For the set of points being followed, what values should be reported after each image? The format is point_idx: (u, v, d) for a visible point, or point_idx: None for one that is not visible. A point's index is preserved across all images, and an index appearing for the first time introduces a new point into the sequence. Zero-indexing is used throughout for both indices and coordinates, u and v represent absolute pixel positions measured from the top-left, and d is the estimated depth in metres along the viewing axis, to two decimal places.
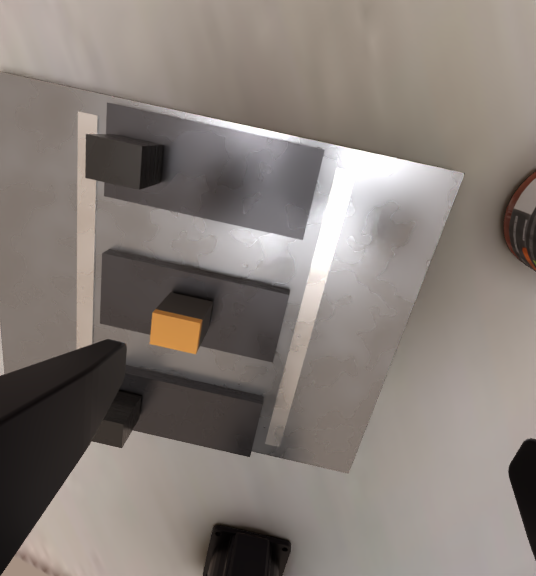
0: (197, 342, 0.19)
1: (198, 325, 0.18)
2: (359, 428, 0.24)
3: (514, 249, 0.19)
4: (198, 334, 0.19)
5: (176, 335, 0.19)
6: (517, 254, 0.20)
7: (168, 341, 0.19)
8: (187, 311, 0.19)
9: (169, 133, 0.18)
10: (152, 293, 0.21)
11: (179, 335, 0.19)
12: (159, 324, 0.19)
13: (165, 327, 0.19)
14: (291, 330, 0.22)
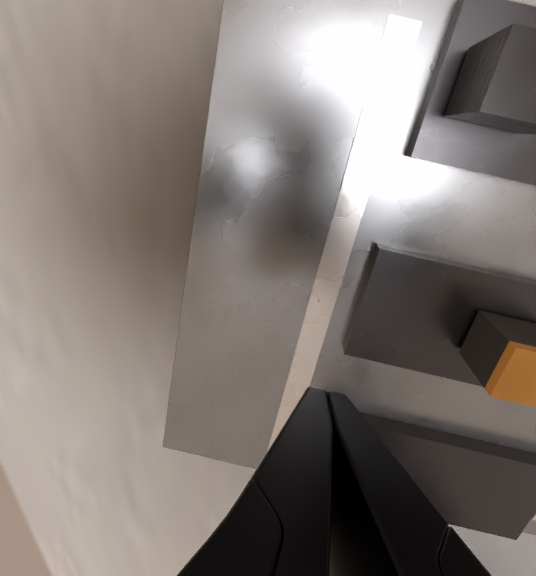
0: None
1: None
2: None
3: None
4: None
5: None
6: None
7: (525, 393, 0.12)
8: None
9: None
10: (443, 311, 0.14)
11: None
12: (520, 366, 0.11)
13: (529, 371, 0.11)
14: None
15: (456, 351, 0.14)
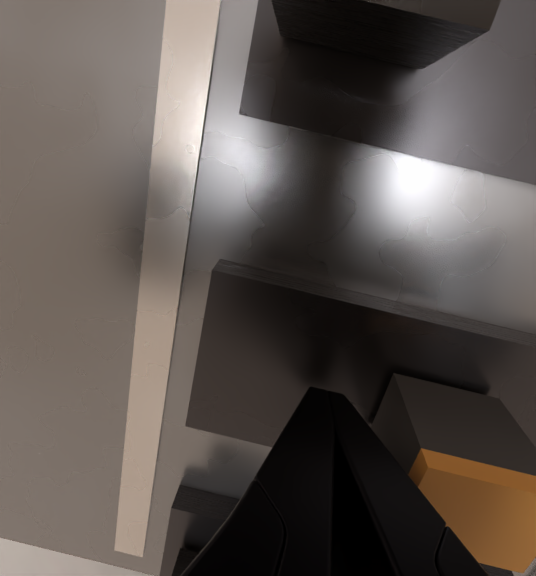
0: None
1: None
2: None
3: None
4: None
5: (482, 527, 0.06)
6: None
7: None
8: (494, 447, 0.07)
9: None
10: (324, 368, 0.09)
11: (492, 528, 0.06)
12: (438, 498, 0.06)
13: (455, 506, 0.06)
14: None
15: None
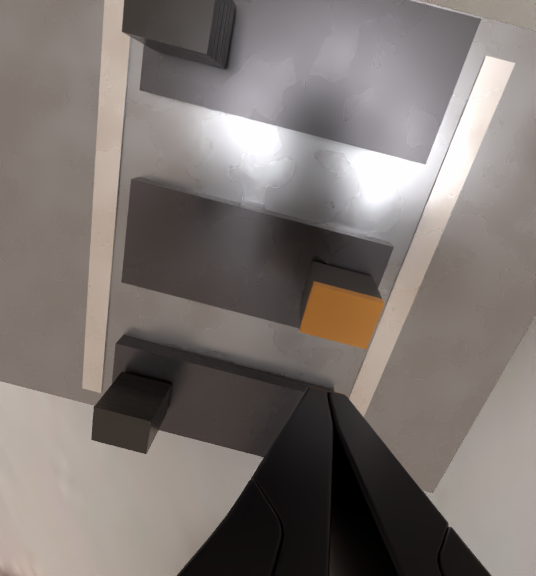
0: (371, 332, 0.13)
1: (380, 306, 0.13)
2: (457, 435, 0.18)
3: None
4: (376, 320, 0.13)
5: (343, 320, 0.13)
6: None
7: (329, 329, 0.13)
8: (354, 286, 0.13)
9: None
10: (198, 240, 0.15)
11: (347, 320, 0.13)
12: (320, 303, 0.13)
13: (329, 308, 0.13)
14: (383, 300, 0.16)
15: (217, 279, 0.16)
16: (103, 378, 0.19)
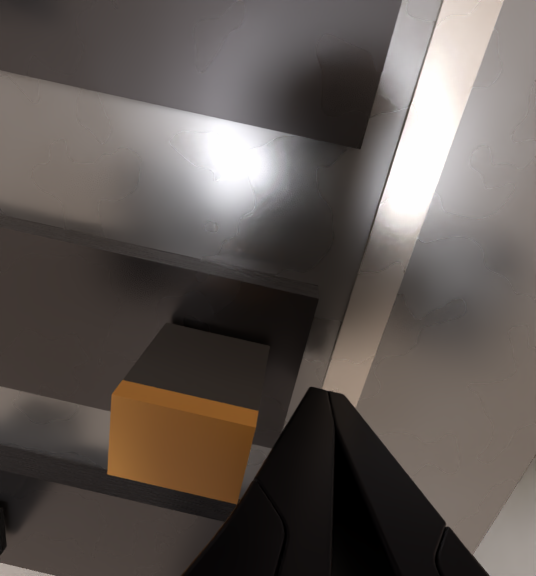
0: (242, 474, 0.07)
1: (248, 432, 0.06)
2: None
3: None
4: (246, 455, 0.06)
5: (182, 456, 0.07)
6: None
7: (159, 470, 0.07)
8: (213, 382, 0.07)
9: None
10: None
11: (191, 456, 0.07)
12: (133, 426, 0.06)
13: (150, 435, 0.06)
14: (318, 378, 0.10)
15: (36, 356, 0.09)
16: None
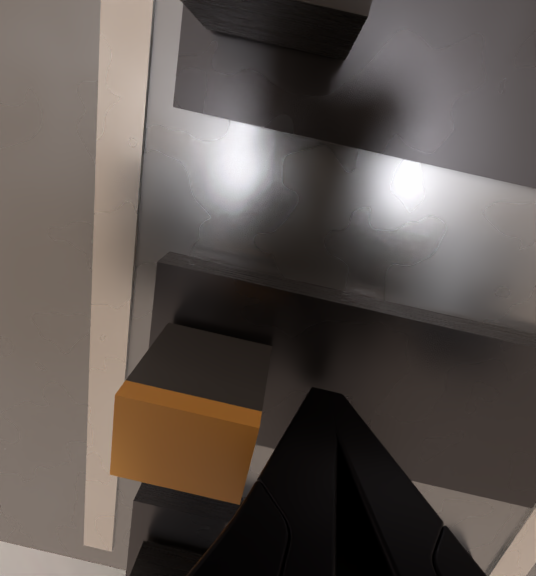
0: (245, 474, 0.07)
1: (252, 433, 0.06)
2: None
3: None
4: (250, 455, 0.06)
5: (185, 456, 0.07)
6: None
7: (162, 470, 0.07)
8: (216, 382, 0.07)
9: None
10: (273, 358, 0.09)
11: (194, 457, 0.07)
12: (136, 427, 0.06)
13: (154, 435, 0.06)
14: None
15: None
16: (114, 533, 0.13)
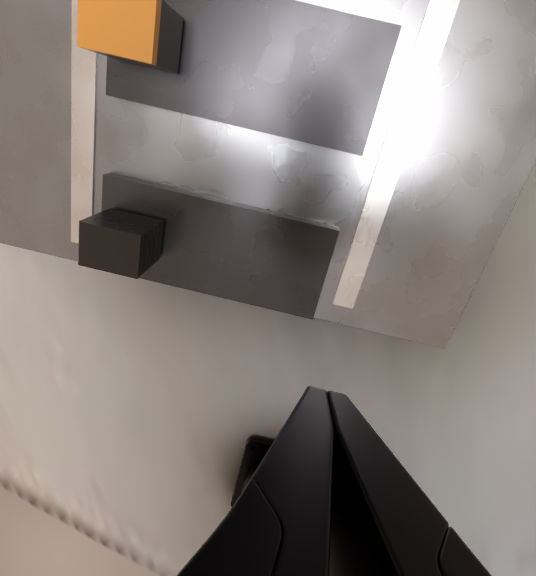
0: (153, 40, 0.12)
1: (153, 0, 0.11)
2: (470, 276, 0.17)
3: None
4: (154, 21, 0.12)
5: (119, 24, 0.12)
6: None
7: (106, 39, 0.12)
8: None
9: None
10: (187, 33, 0.14)
11: (123, 24, 0.12)
12: (90, 2, 0.11)
13: (100, 8, 0.11)
14: (390, 108, 0.15)
15: (208, 83, 0.14)
16: None
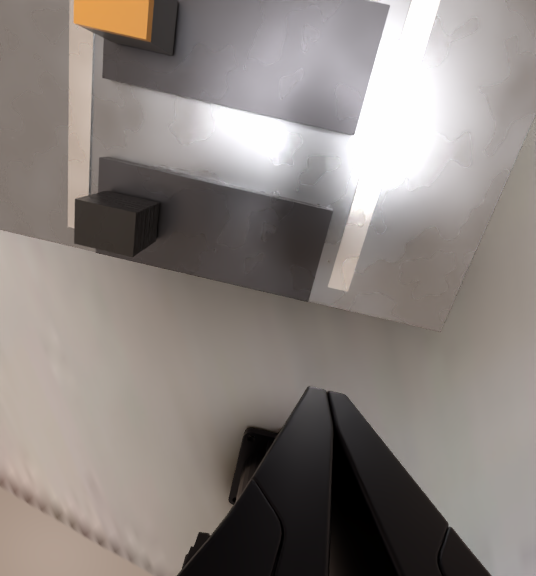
0: (147, 16, 0.12)
1: None
2: (464, 256, 0.17)
3: None
4: None
5: (114, 1, 0.12)
6: None
7: (102, 15, 0.12)
8: None
9: None
10: (181, 15, 0.14)
11: (118, 0, 0.12)
12: None
13: None
14: (381, 89, 0.15)
15: (203, 65, 0.15)
16: None
